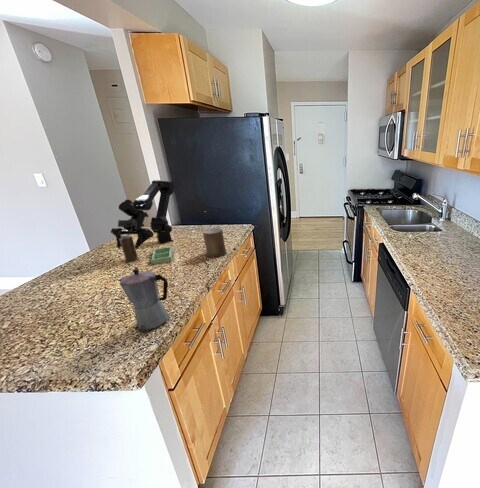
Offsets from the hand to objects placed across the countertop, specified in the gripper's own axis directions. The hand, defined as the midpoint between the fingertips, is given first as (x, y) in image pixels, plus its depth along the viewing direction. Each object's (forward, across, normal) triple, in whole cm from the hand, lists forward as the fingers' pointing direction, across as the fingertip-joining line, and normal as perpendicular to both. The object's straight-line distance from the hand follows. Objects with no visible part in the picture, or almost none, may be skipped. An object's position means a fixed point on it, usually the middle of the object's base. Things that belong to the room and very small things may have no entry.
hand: (127, 247), depth 131 cm
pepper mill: (+5, 0, +6) cm, 8 cm away
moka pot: (+38, +44, -28) cm, 64 cm away
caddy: (+2, +14, +9) cm, 16 cm away
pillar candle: (-2, +40, +13) cm, 42 cm away
